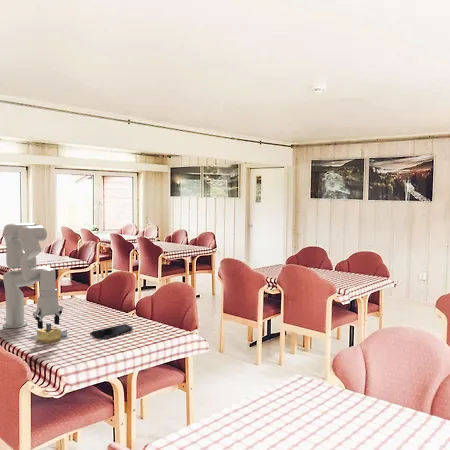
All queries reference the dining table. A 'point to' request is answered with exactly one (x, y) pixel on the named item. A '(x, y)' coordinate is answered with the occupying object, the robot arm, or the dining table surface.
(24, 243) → the robot arm
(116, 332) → the dark slate chunk
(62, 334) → the square hole fixture
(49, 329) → the grey metal peg
